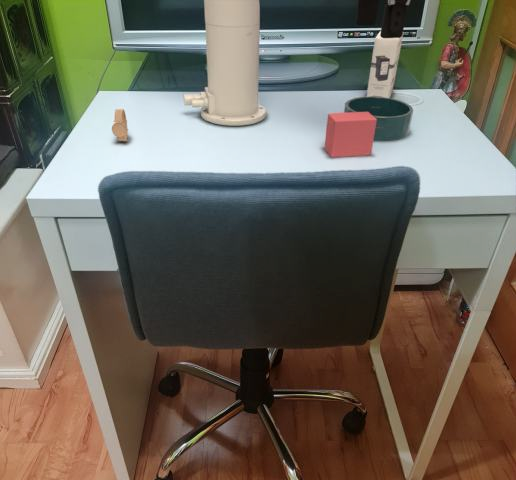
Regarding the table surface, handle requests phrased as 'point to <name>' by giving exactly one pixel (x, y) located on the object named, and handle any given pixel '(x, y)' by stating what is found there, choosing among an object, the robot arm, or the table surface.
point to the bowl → (384, 115)
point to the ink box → (383, 66)
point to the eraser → (349, 134)
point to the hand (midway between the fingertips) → (377, 30)
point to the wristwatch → (120, 125)
